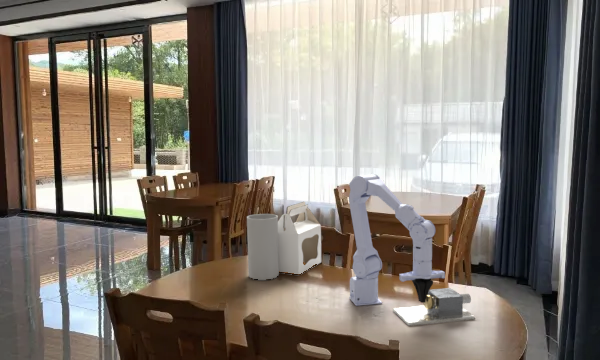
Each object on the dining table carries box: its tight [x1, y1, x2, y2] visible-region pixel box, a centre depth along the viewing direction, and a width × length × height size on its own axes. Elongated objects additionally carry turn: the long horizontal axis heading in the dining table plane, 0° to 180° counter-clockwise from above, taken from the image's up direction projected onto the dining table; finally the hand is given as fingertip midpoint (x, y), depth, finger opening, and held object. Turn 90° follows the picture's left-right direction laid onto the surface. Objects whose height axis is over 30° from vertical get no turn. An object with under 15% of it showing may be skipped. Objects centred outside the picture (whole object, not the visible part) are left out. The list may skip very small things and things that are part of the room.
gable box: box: [278, 201, 322, 275], centre depth 205 cm, size 22×13×28 cm, turn 152°
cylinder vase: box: [246, 213, 280, 281], centre depth 192 cm, size 12×12×25 cm
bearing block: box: [392, 287, 476, 327], centre depth 150 cm, size 22×12×7 cm, turn 101°
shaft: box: [423, 293, 472, 309], centre depth 150 cm, size 15×4×4 cm, turn 101°
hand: (421, 301), depth 149 cm, fingers closed
